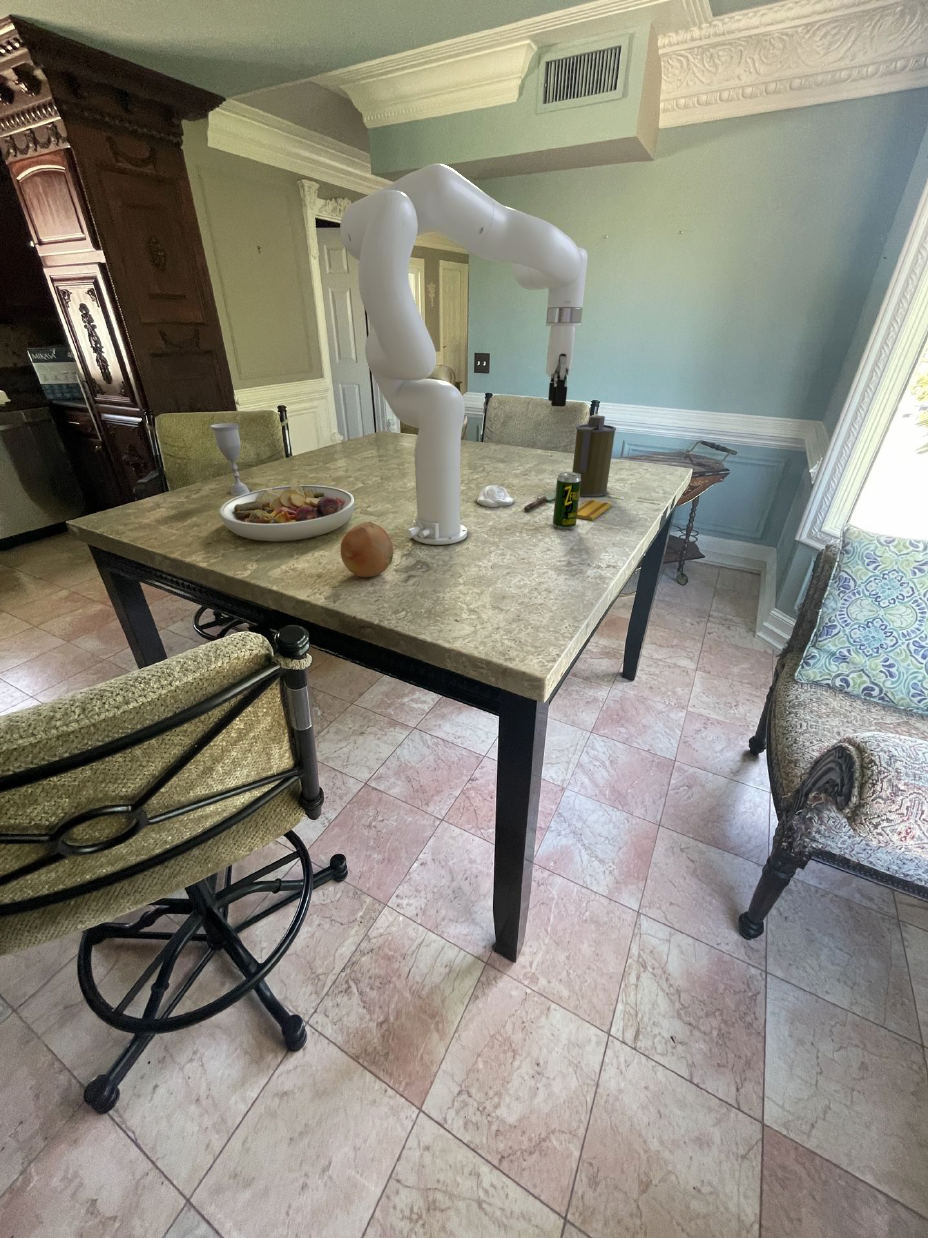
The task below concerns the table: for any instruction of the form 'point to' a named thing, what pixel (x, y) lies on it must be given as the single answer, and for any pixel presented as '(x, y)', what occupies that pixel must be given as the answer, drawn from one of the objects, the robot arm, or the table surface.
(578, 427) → the canister
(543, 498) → the spatula
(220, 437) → the chalice
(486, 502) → the rose
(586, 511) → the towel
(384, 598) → the table surface
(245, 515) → the bowl
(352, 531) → the onion
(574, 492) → the beer can
